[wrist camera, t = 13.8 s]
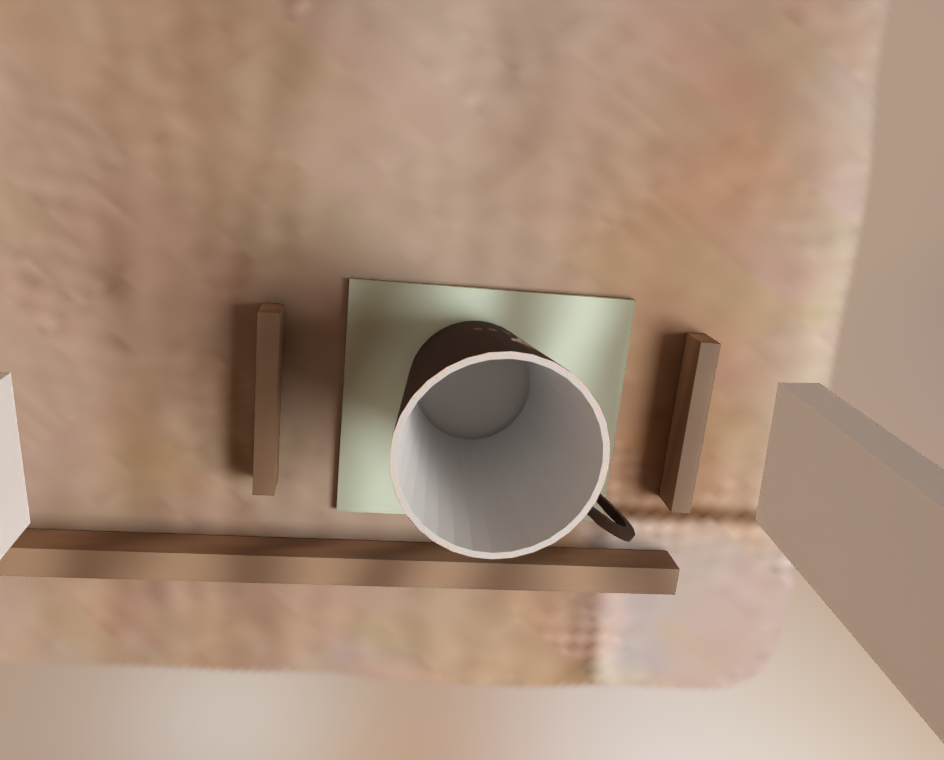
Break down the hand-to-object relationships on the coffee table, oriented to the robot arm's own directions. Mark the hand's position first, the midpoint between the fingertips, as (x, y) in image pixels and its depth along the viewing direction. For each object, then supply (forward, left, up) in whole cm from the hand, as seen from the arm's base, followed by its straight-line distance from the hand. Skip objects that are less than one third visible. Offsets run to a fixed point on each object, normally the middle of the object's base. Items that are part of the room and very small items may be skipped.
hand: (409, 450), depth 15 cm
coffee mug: (-6, +8, -27) cm, 29 cm away
